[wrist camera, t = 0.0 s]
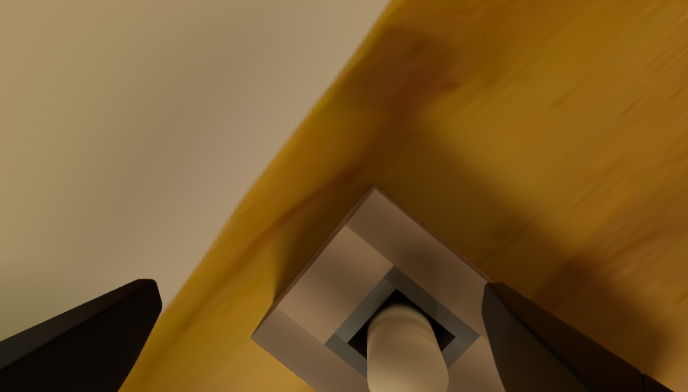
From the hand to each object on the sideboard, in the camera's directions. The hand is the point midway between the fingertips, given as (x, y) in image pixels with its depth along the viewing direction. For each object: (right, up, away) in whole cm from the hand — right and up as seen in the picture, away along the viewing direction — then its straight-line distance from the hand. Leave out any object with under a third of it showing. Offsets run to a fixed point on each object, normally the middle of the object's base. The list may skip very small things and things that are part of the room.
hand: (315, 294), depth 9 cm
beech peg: (+4, -6, +12) cm, 14 cm away
